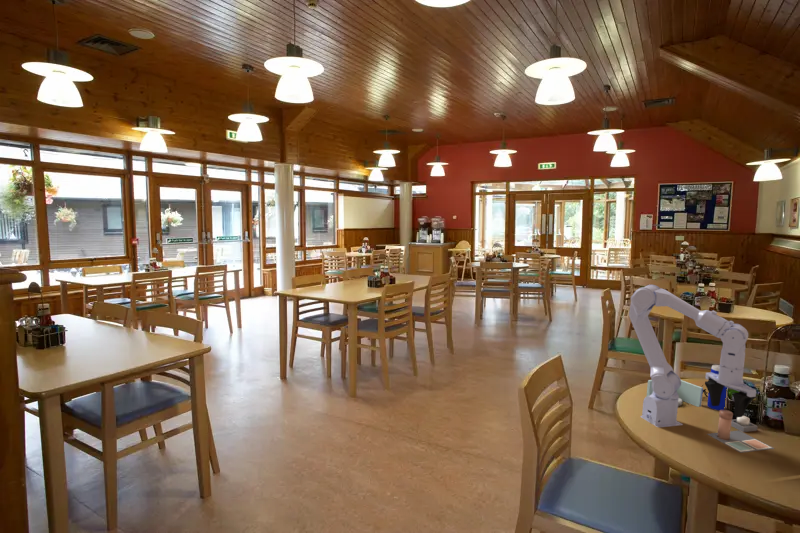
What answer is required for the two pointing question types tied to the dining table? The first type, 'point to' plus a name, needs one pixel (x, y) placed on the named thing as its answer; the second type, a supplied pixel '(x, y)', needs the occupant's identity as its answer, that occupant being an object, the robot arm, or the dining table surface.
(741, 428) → the button housing
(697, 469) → the dining table surface
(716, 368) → the beverage can
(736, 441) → the picture board
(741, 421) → the button
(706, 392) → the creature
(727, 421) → the tan rounded cylinder
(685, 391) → the l-shaped corner panel
